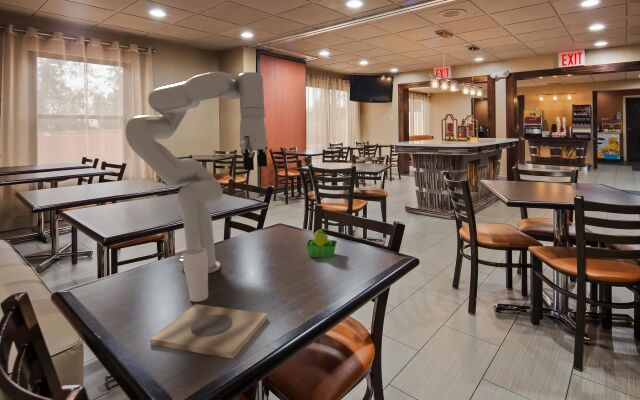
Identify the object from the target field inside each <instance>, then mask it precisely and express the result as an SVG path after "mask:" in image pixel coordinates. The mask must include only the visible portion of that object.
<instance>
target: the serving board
mask: <svg viewBox="0 0 640 400" xmlns="http://www.w3.org/2000/svg"><path fill="white" fill-rule="evenodd" d="M267 320H268V313H266V312H260V311H259V312H258V311H252V310H244V309H243V310H242V309H235V308H227V307H220V306H213V305H212V306H211V305H204V304H197V303H196V304H194V305H193V306H191V307H190V308H188V309H187V310H186V311H185V312H183V313H182V314H181V315H179V316H178V317H176V318H175V319H174V320H173V321H171V322H170V323H169V324H168V325H166V326H165V327H163V328H162V329H161V330H160V331H158V332H156V333H155V334H154V335H153V336H152V337H150V338H149V342H150V345H152V346H157V347H161V348H162V347H163V348H169V349H173V350H174V349H175V350H180V351H184V352H185V351H187V352H192V353H197V354H204V355H208V356H209V355H210V356H215V357H222V358H227V359H235V358H236V356H238V354H239V353H240V351H242V349H243V348H244V346H246V344H247V343H248V342H249V341H250V340H251V339H252V338H253V336H254V335H256V333H257V332H258V330H260V328H261V327H262V326H263V324H264V323H265V322H266V321H267Z"/></svg>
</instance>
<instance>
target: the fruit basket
mask: <svg viewBox="0 0 640 400" xmlns="http://www.w3.org/2000/svg"><path fill="white" fill-rule="evenodd" d="M337 243H338V241H337V240H334V239H333V240H332V239H329V238H328V235H327V233H326V232H325V231H324V230H323V229H318V230H317V231H315V233H314V236H313V239H309V240H308V241H307V242H306V243H305V247H306V250H307V253H308V256H309V257H310V258H329V259H332V258H333V256H334V254H335V251H336V247H337Z"/></svg>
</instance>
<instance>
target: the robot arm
mask: <svg viewBox="0 0 640 400" xmlns="http://www.w3.org/2000/svg"><path fill="white" fill-rule="evenodd" d="M216 98H217V99H218V98H219V99H221V98H222V99H229V100H237V99H238V100H239V108H240V109H239V110H240V111H239V113H240V124H239V148H240V152H241V156H242V159H243V160H242V162H243V170H244V171H254V170H255V166H254V165H255V163H254V157H253V154H254V151H256V152H257V154H256V157H257V158H256V159H257V167H259V168H265V167H268V157H267V154H268V151H267V150H268V140H267V133H266V132H267V131H266V126H265V125H266V124H265V119H266V117H265V116H266V113H265V93H264V78H263V75H262V74H261V73H259V72H254V71H252V72H251V71H250V72H249V71H248V72H241V73H239V74H231V73H227V72H224V71H211V72H207V73H202V74H198V75H195V76H192V77H191V78H189V79H187V80H186V81H182V82H178V83H174V84H170V85H166V86H165V85H164V86H161V87H157V88H155V89H153V90H151V92H150V93H149V95H148V97H147V101H148V104H149V106H150V108H151V110H153V111H155V113H160V114H159V115H154V114H153V115H147V114H146V115H136V116H133V117H132V118H130V119H129V120H128V121H127V123H126V125H125V137H126V141H127V144H128V145H129V146H130V149H131V150H132V151H133V152H134V153H135V154H136V155H137V156H138V157H140V158H141V159H142V160H143V161H144V162H145V163H146V164H147V165H148V166H149V167H150V168H151V170H153V172H154V173H155V174H156V175H157V176H158V177H159V178H160V179H161V180H162V181H163V182H164V183H165V185H167V186H169V187H170V188H180V187H181V188H180V189H179V192H178V193H177V194H178V195H177V201H178V204H179V208H180V211H181V215H182V222H183V229H184V238H185V248H186V249H185V250H187V249H190V248H196V247H202V248H205V249H206V250H207V258H208V275H210V274H211V273H215V272H216V271H219V270H220V268H221V263H220V261H217V260H216V253H215V252H216V251H215V250H216V249H215V239H214V229H213V227H214V226H213V220H212V216H211V213H210V211H209V209H208V206H212V205H214V204H216V203H218V202H219V201H221V199H222V197H223V193H224V192H223V187H222V186H221V184H220V182H219V181H218V180H217V179H216V178H215V176H214V175H212V173H211V172H210V171H209V170H207V168H205V167H204V165H203V164H202V163H200V162H199V161H198V160H196V159H193V158H190V157H188V158H186V157H185V158H178V157H177V156H175V155H174V154H173V153H172V152H171V151H170V150H169V148H167V147H166V146H164V145H163V144H161V143H160V142H158V141H157V140H166V139H170V138H171V137H172V136H173V135H174V134H175V133H176V131H177V130H178V128H179V126H180V125H181V122H182V121H183V119H184V118H185V117H186V116H185V115H186V114H187V113H188V110H189V109H194V108H197V107H198V106H199V105H200V103H201V101H207V100H210V99H211V100H212V99H216ZM179 263H180V264H183V255H181V256H180V258H179ZM183 272H184V273H185V270H184V269H183Z"/></svg>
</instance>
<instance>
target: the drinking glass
mask: <svg viewBox="0 0 640 400" xmlns="http://www.w3.org/2000/svg"><path fill="white" fill-rule="evenodd" d="M182 256H183V263H182V264H183V271H184V270H185V272H184V273H185V274H184V275H185V279H186V284H187V290H188V295H189V300H190V301H191V302H193V303H198V302H203V301H206V300H207V299H208V298H209V274H208V258H207V250H206V249H205V248H202V247H196V248H190V249H187V250H186V249H185V250H183V251H182Z"/></svg>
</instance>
